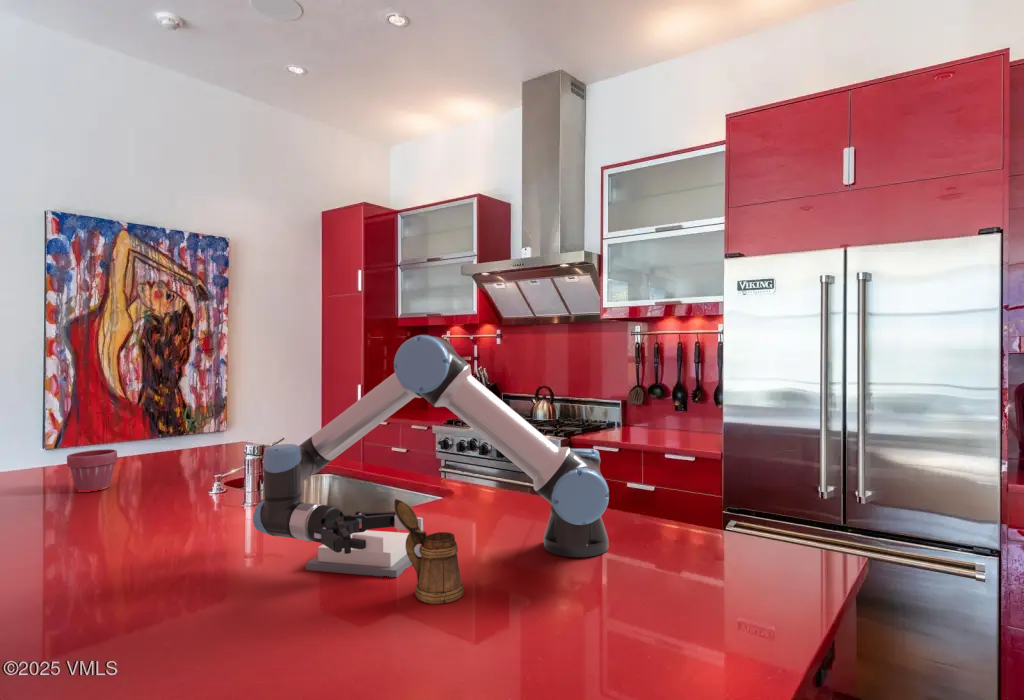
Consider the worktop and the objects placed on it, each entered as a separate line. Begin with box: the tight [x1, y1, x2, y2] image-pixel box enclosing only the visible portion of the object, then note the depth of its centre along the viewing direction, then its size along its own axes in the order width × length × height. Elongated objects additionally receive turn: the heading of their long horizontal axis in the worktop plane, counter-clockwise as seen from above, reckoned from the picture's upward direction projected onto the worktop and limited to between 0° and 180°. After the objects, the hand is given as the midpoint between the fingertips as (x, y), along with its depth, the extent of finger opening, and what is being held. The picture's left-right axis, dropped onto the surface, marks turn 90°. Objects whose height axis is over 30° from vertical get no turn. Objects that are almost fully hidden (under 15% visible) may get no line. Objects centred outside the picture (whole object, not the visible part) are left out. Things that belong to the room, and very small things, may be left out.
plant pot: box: [66, 448, 118, 490], centre depth 205 cm, size 14×14×13 cm
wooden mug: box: [393, 498, 465, 605], centre depth 115 cm, size 9×14×18 cm, turn 78°
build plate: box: [305, 529, 422, 578], centre depth 133 cm, size 21×16×4 cm
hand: (403, 534), depth 117 cm, fingers open, 13 cm apart
